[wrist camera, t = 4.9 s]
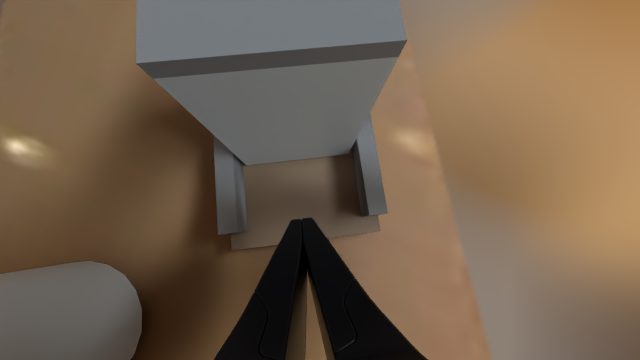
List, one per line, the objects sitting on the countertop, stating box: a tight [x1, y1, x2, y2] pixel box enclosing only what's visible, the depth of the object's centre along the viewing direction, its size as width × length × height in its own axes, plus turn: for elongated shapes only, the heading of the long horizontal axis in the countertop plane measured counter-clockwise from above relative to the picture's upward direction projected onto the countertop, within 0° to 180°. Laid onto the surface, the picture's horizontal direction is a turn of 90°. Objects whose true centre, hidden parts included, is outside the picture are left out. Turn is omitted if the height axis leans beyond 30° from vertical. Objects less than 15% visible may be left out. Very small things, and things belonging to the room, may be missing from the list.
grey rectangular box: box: [136, 0, 407, 165], centre depth 11 cm, size 6×6×10 cm
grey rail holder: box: [213, 113, 388, 251], centre depth 15 cm, size 16×9×4 cm, turn 7°
